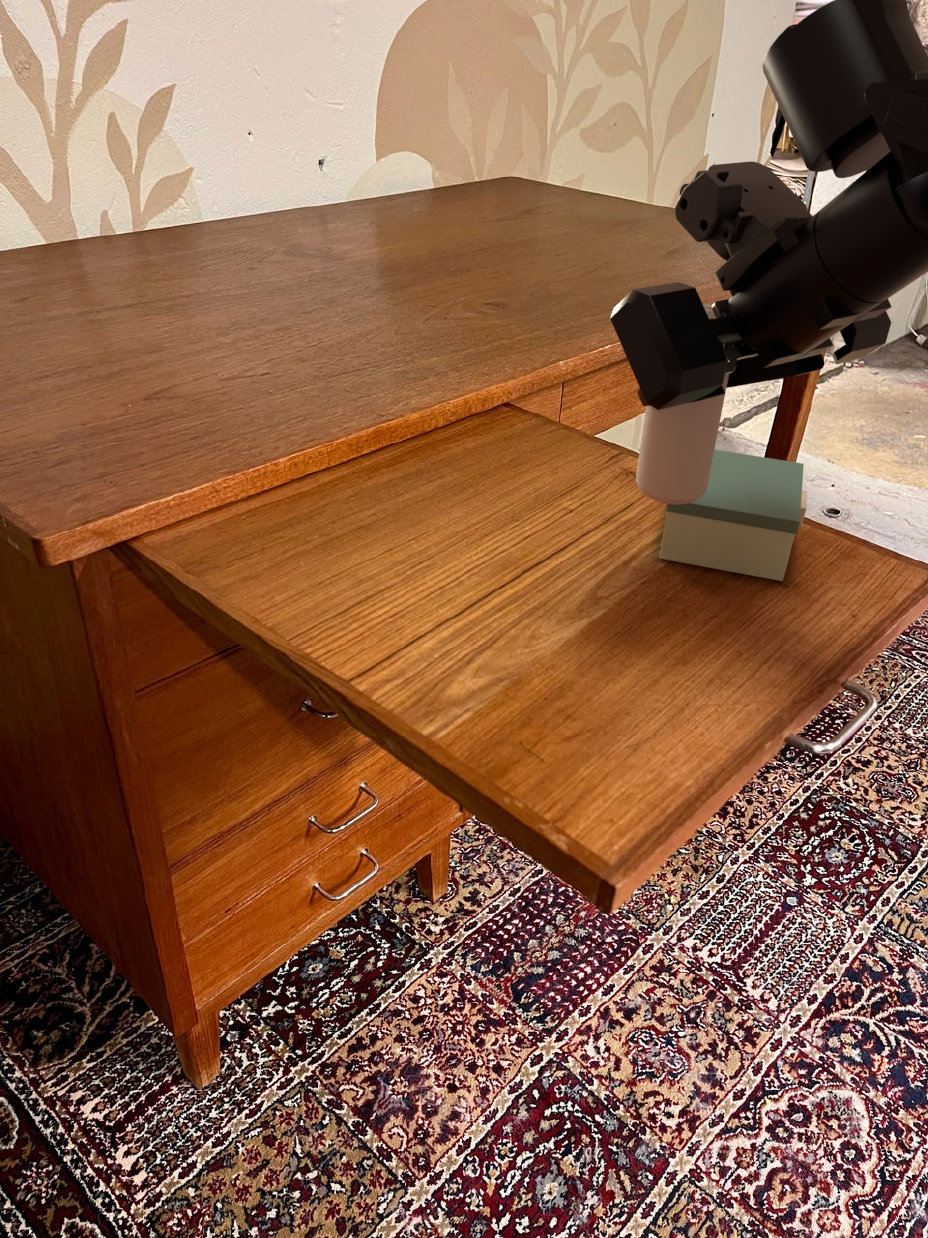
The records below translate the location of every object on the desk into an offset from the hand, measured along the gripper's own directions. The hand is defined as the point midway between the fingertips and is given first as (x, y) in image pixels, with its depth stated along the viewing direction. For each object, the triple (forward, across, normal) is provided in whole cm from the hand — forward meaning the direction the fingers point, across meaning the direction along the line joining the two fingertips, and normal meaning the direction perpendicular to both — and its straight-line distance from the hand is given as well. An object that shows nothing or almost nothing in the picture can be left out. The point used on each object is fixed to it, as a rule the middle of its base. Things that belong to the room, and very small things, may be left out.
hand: (670, 391), depth 63 cm
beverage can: (+4, 0, +6) cm, 7 cm away
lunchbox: (+10, -9, +10) cm, 16 cm away
